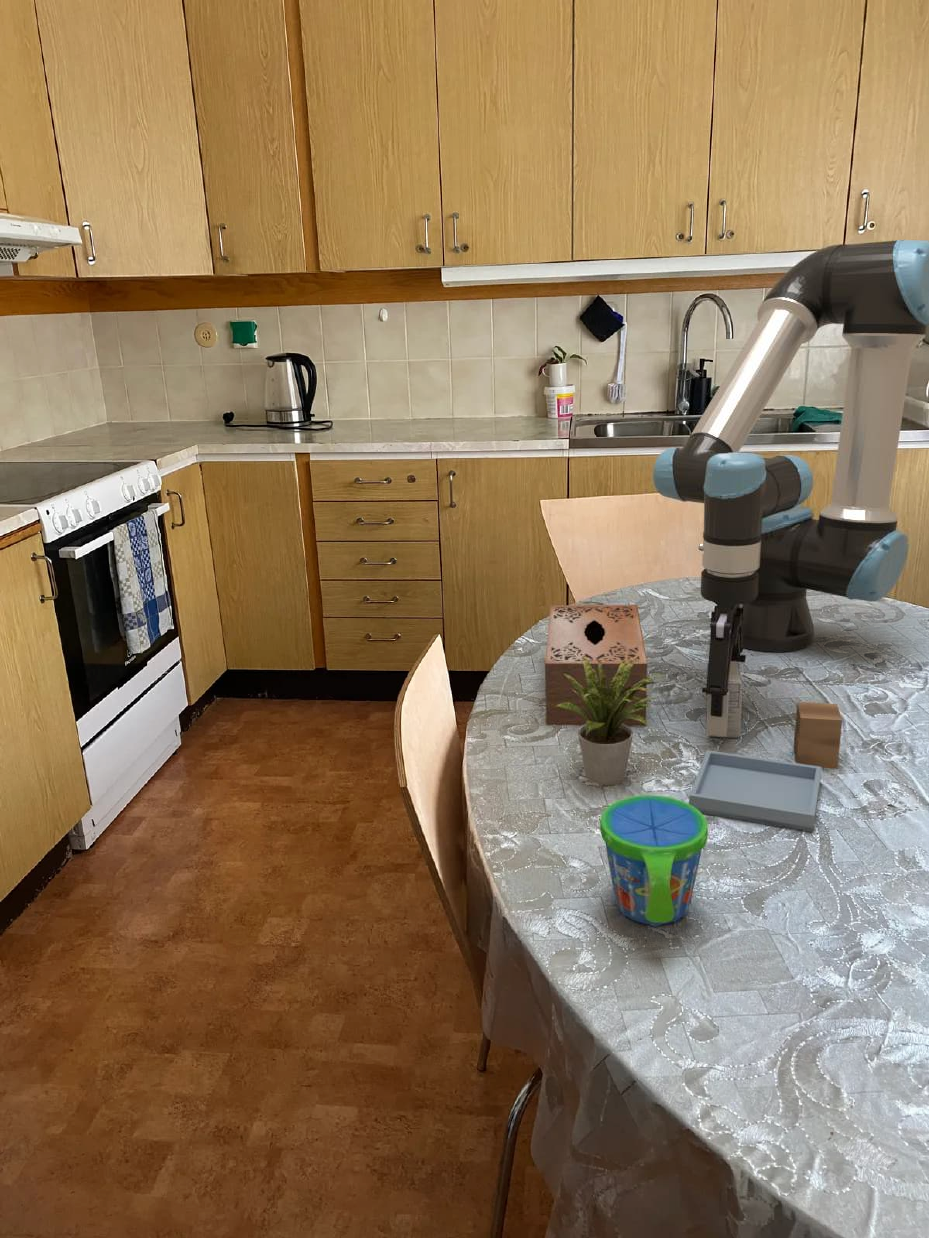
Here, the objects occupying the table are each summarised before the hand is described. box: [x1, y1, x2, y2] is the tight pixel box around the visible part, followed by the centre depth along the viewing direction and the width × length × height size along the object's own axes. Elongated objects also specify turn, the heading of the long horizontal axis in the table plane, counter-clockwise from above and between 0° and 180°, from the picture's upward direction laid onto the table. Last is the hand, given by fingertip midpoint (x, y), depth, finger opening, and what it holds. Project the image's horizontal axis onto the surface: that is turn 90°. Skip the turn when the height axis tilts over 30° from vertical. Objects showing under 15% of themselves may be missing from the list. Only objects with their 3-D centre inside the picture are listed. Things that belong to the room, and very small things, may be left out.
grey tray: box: [688, 749, 823, 833], centre depth 116 cm, size 12×14×2 cm
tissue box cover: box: [544, 604, 648, 727], centre depth 147 cm, size 26×14×10 cm, turn 173°
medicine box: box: [705, 661, 743, 739], centre depth 133 cm, size 8×4×9 cm, turn 168°
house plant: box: [557, 657, 666, 786], centre depth 119 cm, size 14×14×16 cm
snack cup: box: [599, 794, 709, 927], centre depth 95 cm, size 16×10×10 cm
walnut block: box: [792, 701, 843, 770], centre depth 124 cm, size 5×5×7 cm
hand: (722, 718), depth 135 cm, fingers open, 10 cm apart
